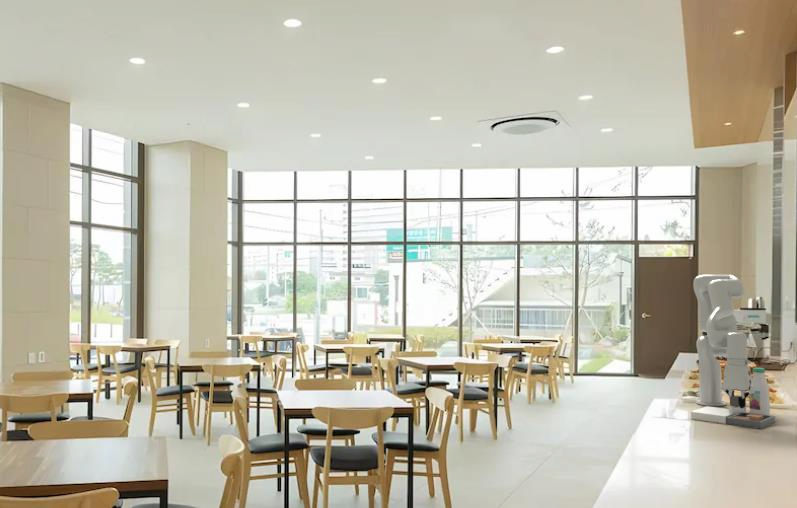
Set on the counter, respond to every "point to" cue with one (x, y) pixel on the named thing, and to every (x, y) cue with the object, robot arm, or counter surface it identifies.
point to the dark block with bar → (736, 405)
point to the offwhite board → (711, 414)
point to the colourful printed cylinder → (759, 393)
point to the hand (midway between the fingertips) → (737, 406)
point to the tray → (749, 423)
